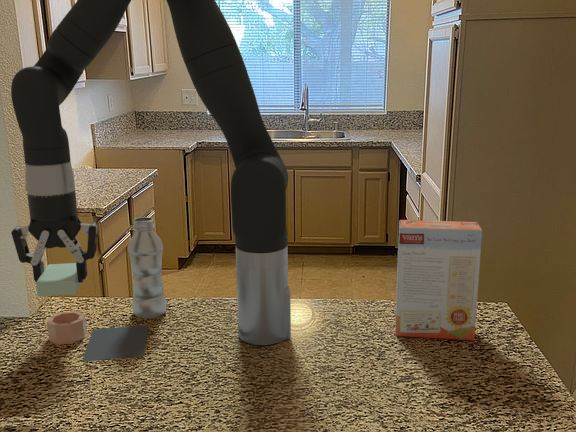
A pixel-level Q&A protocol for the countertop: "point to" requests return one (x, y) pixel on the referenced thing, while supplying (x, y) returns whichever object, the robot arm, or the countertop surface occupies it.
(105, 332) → the mat
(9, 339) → the countertop surface
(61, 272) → the block
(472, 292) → the cracker box
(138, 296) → the plastic bottle
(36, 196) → the robot arm
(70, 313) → the bowl
